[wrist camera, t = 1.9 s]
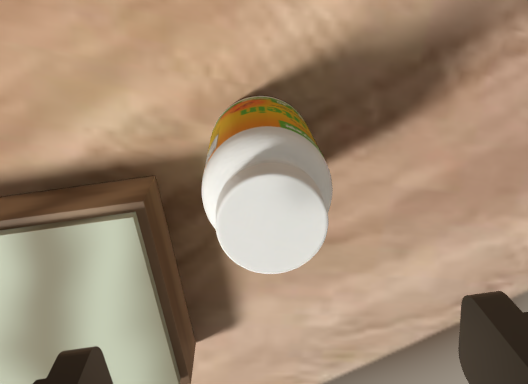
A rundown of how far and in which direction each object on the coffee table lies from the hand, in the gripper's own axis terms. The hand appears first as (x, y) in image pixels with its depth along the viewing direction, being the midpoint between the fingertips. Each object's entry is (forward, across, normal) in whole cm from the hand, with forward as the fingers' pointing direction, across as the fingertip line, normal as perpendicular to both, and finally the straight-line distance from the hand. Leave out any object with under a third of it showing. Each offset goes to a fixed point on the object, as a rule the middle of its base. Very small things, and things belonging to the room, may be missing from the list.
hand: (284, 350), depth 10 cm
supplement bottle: (+16, 0, 0) cm, 16 cm away
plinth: (+16, +12, +7) cm, 21 cm away
